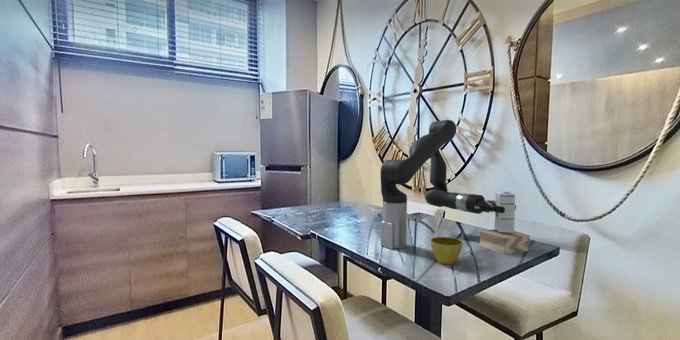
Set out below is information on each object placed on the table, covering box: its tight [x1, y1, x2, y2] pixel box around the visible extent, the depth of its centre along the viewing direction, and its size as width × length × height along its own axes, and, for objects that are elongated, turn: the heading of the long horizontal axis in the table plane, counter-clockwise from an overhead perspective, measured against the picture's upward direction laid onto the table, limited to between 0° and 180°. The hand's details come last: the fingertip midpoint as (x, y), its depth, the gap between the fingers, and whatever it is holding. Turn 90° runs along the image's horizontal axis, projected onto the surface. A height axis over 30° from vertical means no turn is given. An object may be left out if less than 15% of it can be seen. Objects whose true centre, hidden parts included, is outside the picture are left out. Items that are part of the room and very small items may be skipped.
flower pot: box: [430, 236, 463, 265], centre depth 116 cm, size 10×10×7 cm
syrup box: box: [494, 191, 516, 233], centre depth 131 cm, size 6×6×14 cm
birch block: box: [479, 228, 531, 255], centre depth 132 cm, size 12×12×6 cm
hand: (509, 208), depth 130 cm, fingers closed on syrup box, 8 cm apart
